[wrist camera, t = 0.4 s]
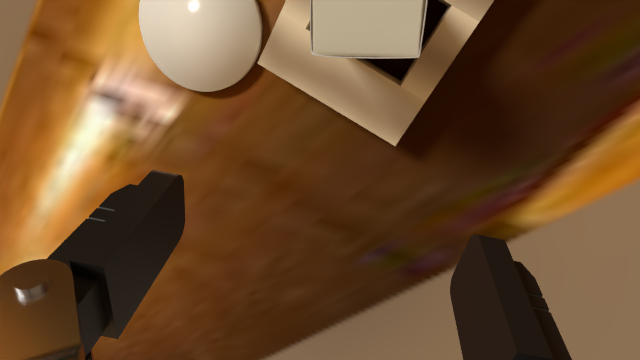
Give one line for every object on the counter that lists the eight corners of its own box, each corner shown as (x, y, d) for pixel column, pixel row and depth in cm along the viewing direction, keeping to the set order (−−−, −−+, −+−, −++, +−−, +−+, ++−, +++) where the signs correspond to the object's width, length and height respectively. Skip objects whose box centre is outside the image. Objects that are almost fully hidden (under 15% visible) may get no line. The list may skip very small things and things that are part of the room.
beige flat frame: (356, -128, 29) (351, -143, 26) (509, -34, 29) (520, -39, 27) (269, 59, 35) (257, 63, 33) (396, 136, 35) (395, 146, 33)
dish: (168, -72, 33) (161, -74, 32) (284, -2, 33) (280, -2, 32) (131, 51, 38) (124, 51, 37) (233, 112, 38) (228, 114, 37)
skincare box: (338, 44, 34) (303, 57, 23) (339, -14, 32) (303, -30, 21) (416, 46, 32) (421, 61, 21) (422, -14, 31) (431, -31, 20)
